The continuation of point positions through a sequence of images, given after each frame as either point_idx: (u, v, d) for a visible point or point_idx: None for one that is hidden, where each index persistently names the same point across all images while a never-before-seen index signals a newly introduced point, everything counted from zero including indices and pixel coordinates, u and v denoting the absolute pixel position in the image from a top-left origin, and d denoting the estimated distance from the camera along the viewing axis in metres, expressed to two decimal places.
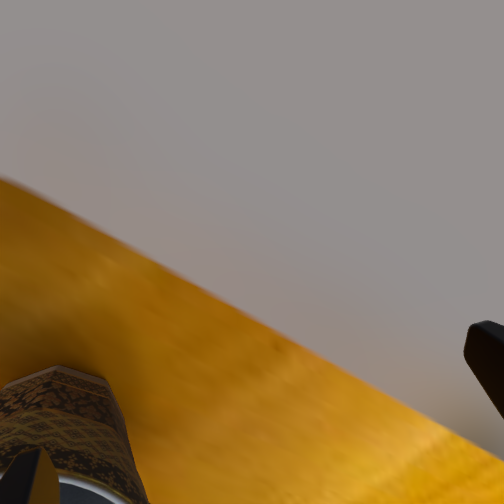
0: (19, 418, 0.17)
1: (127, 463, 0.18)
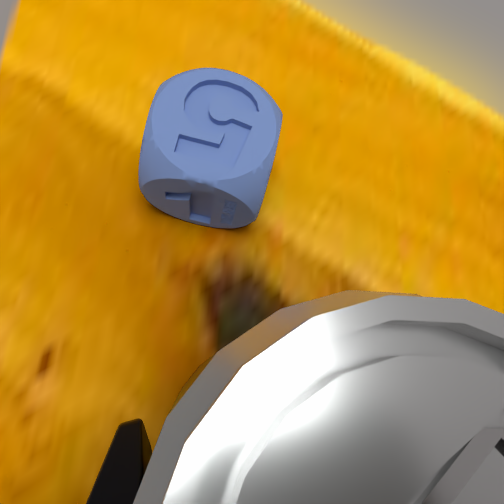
0: None
1: None
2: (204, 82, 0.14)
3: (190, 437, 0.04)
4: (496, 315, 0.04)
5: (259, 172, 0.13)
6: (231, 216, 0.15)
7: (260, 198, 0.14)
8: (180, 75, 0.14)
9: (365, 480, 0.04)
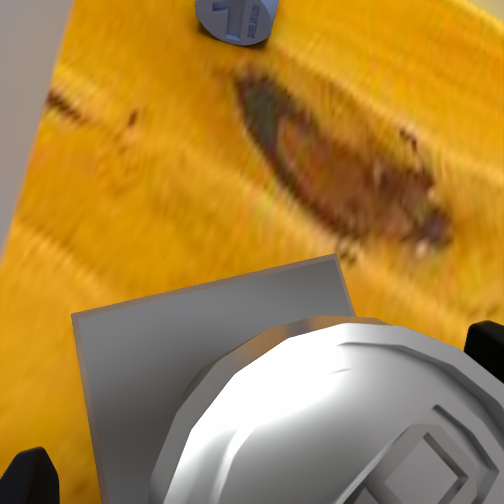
0: None
1: None
2: None
3: (195, 425, 0.05)
4: (429, 339, 0.06)
5: None
6: (255, 26, 0.23)
7: (275, 5, 0.22)
8: None
9: (323, 460, 0.05)
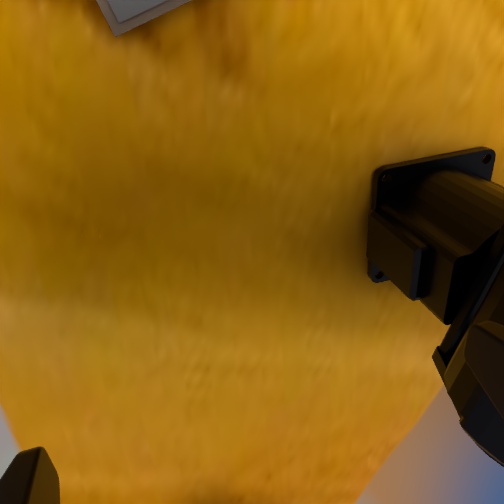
0: None
1: None
2: None
3: None
4: None
5: None
6: None
7: None
8: None
9: None
